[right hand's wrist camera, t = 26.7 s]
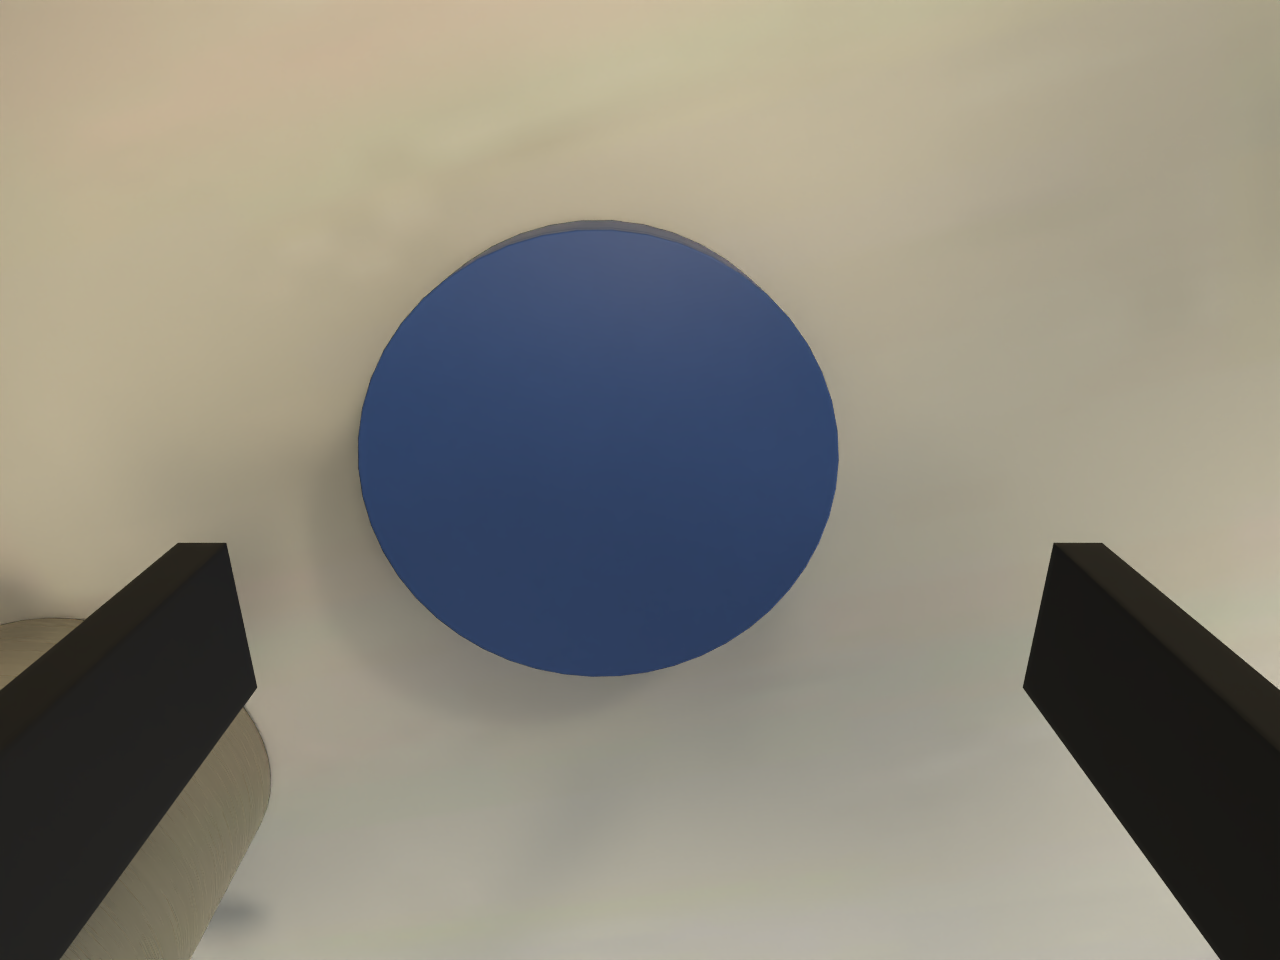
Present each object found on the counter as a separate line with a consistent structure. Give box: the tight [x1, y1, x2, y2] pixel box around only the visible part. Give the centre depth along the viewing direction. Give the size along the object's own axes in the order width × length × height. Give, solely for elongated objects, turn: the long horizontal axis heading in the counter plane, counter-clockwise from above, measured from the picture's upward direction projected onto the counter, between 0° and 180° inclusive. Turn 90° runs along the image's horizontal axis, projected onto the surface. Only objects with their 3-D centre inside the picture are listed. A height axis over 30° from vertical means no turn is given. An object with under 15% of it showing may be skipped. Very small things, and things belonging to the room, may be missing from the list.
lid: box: [358, 220, 839, 677], centre depth 19 cm, size 11×11×2 cm
